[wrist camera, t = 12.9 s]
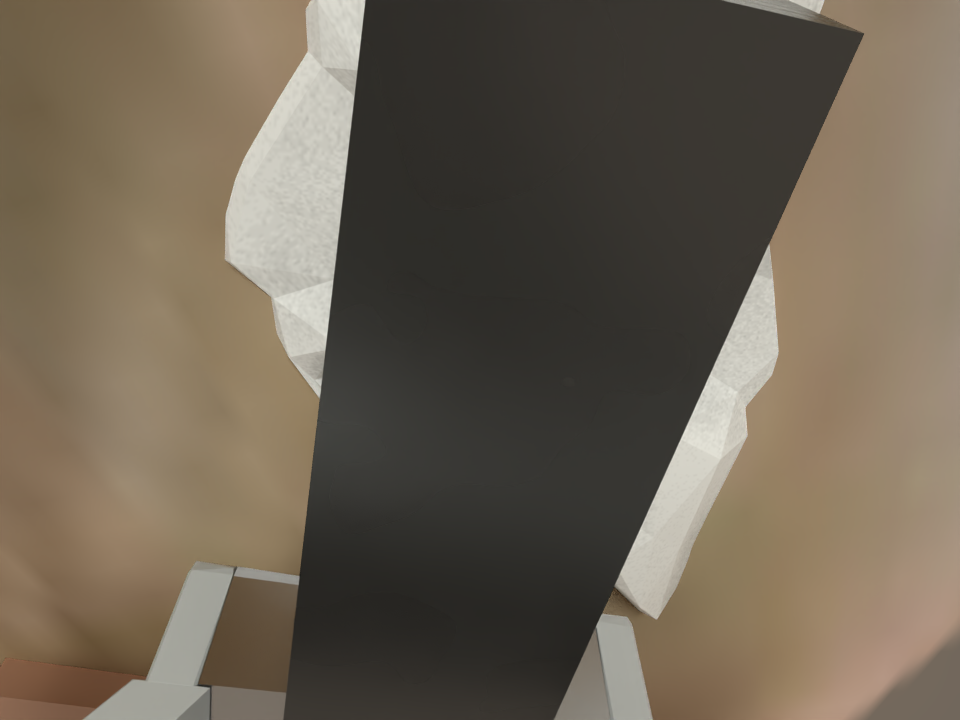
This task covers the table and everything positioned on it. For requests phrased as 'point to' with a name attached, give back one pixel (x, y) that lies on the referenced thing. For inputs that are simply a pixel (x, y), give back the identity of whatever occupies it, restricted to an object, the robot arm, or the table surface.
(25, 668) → the tile
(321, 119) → the cloth
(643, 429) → the turner
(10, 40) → the table surface
